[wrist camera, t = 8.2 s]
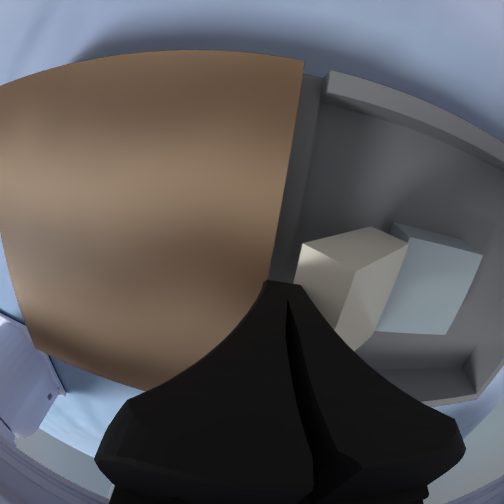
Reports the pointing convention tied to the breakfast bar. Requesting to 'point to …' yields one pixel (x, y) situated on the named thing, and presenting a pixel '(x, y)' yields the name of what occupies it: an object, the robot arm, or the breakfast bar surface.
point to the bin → (401, 216)
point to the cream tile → (351, 279)
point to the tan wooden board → (143, 203)
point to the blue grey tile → (428, 282)
